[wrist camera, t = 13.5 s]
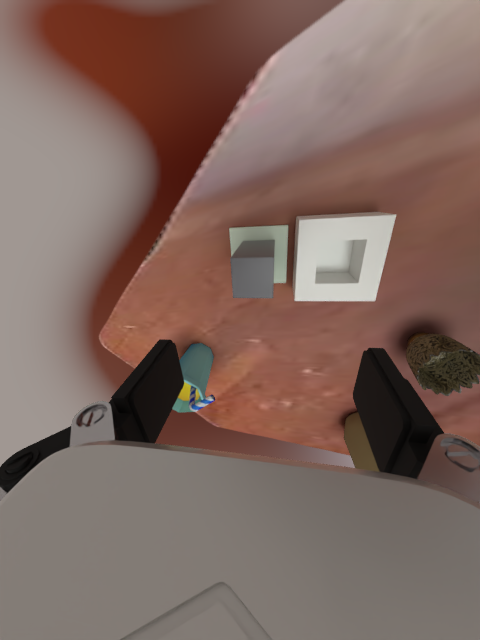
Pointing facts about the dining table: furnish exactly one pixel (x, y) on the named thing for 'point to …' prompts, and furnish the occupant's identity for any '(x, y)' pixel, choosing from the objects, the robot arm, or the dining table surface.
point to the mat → (265, 233)
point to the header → (340, 256)
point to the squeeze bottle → (358, 444)
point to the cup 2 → (442, 363)
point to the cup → (195, 378)
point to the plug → (253, 269)
